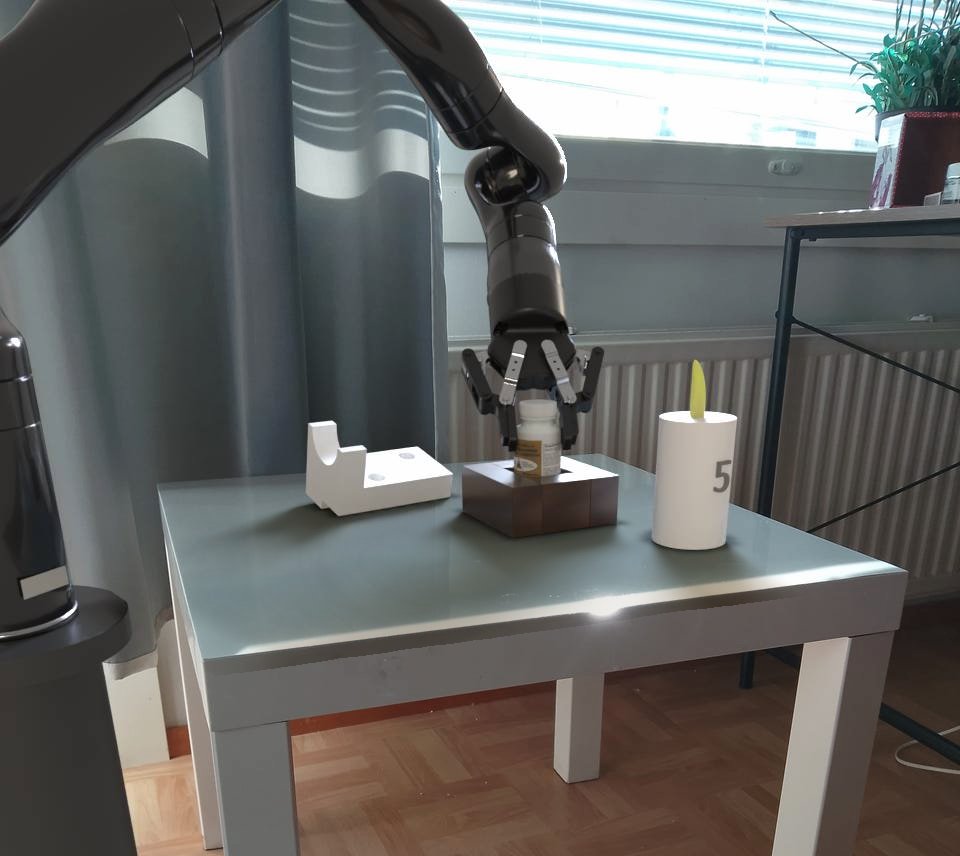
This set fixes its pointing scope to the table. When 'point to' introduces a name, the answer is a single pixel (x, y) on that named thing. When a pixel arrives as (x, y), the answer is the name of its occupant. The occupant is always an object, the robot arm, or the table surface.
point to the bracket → (369, 474)
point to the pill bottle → (538, 439)
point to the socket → (539, 498)
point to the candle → (693, 473)
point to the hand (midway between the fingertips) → (540, 445)
